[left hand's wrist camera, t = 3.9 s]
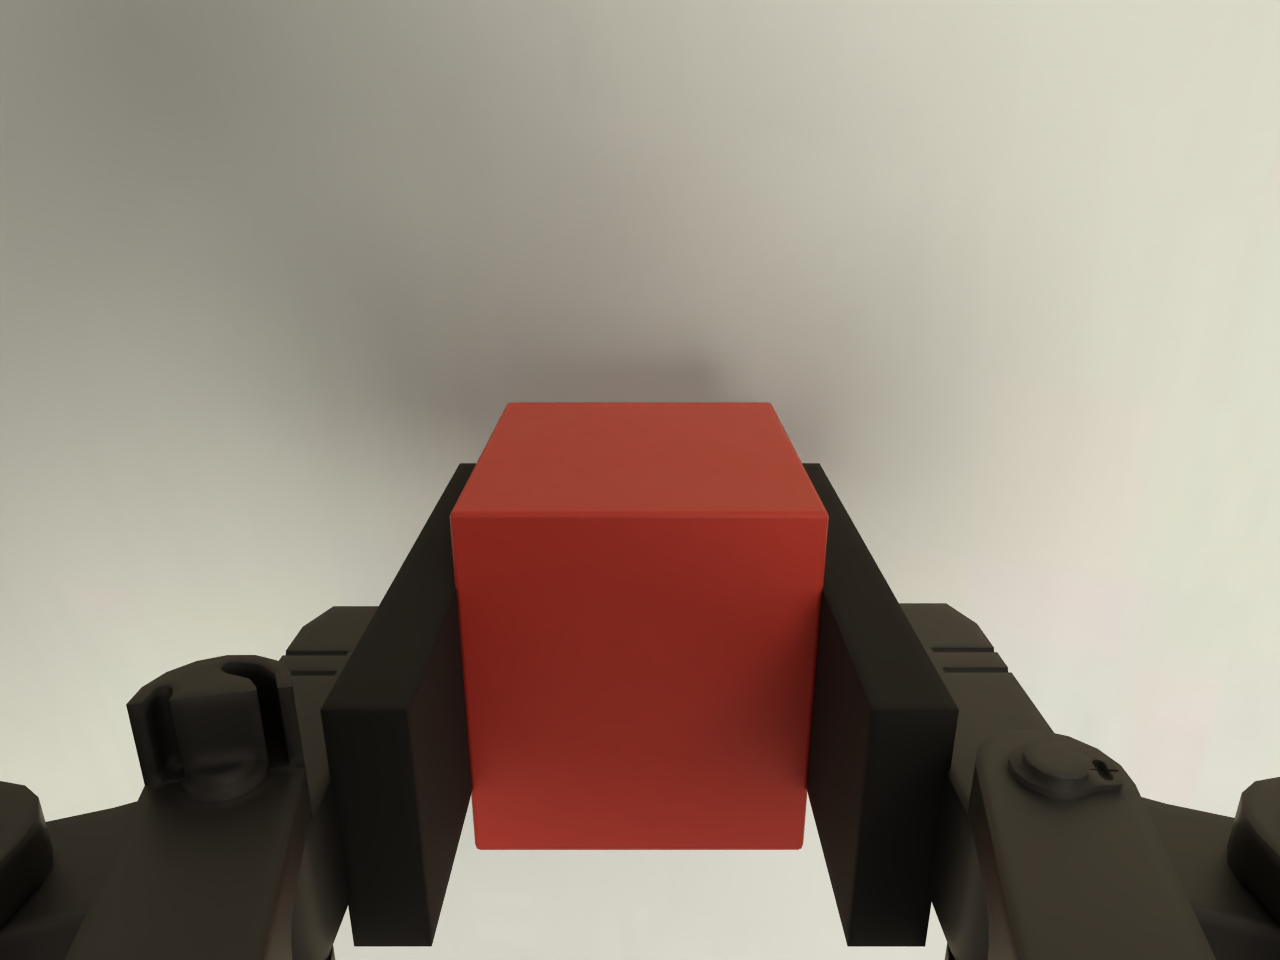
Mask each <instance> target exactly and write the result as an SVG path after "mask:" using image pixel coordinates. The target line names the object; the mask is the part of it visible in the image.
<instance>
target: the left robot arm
mask: <svg viewBox="0 0 1280 960" xmlns="http://www.w3.org/2000/svg"><path fill="white" fill-rule="evenodd" d="M476 464H477V463H460V464H459V466H458V468H457V470H456V471H455V473H454V475H453V477H452V478H451V480H450V482H449V484H448V485H447V487H446V489H445V491H444V493H443V494H442V496H441V498H440V500H439V501H438V503H437V505H436V507H435V508H434V510H433V512H432V514H431V515H430V517H429V519H428V521H427V522H426V524H425V526H424V528H423V530H422V531H421V533H420V535H419V537H418V538H417V540H416V542H415V544H414V545H413V547H412V549H411V551H410V552H409V554H408V556H407V558H406V559H405V561H404V563H403V565H402V567H401V568H400V570H399V572H398V574H397V575H396V577H395V579H394V581H393V582H392V584H391V586H390V588H389V589H388V591H387V593H386V595H385V596H384V598H383V600H382V602H381V604H380V605H379V606H333V607H332V608H330V609H329V610H327V611H326V612H324V613H323V614H321V615H320V616H318V617H317V618H315V619H314V620H312V621H311V622H309V623H308V624H306V625H305V626H303V627H302V629H301V630H300V632H299V633H298V634H297V636H296V637H295V639H294V640H293V642H292V643H291V644H290V646H289V647H288V649H287V650H286V656H282V657H281V659H280V660H279V661H277V660H273V659H269V658H265V657H261V656H257V655H226V656H221V657H216V658H210V659H205V660H200V661H196V662H193V663H190V664H187V665H185V666H182V667H179V668H177V669H174V670H171V671H169V672H166V673H165V674H163V675H161V676H160V677H158V678H156V679H155V680H153V681H151V682H150V683H148V684H147V685H145V686H143V687H142V688H141V689H140V690H139V691H138V692H137V693H136V694H135V695H134V697H133V698H132V699H131V700H130V701H129V702H128V703H127V704H126V706H127V710H128V714H129V719H130V723H131V727H132V732H133V736H134V740H135V745H136V749H137V753H138V758H139V762H140V766H141V771H142V775H143V779H144V783H145V787H144V789H143V791H142V793H141V795H140V797H139V800H138V801H137V802H133V803H130V804H126V805H122V806H119V807H115V808H111V809H106V810H101V811H96V812H92V813H87V814H82V815H77V816H73V817H68V818H63V819H58V820H53V821H49V822H45V819H44V816H43V812H42V808H41V805H40V801H39V798H38V797H37V796H36V795H35V794H34V793H33V792H32V791H31V790H29V789H28V788H27V787H26V786H24V785H19V784H13V783H8V782H2V781H0V960H335V955H334V948H333V943H334V940H335V938H336V935H337V932H338V930H339V927H340V925H341V922H342V919H343V917H344V914H345V912H346V909H347V906H349V913H350V920H351V927H352V934H353V941H354V946H432V943H433V939H434V935H435V931H436V927H437V924H438V920H439V916H440V912H441V908H442V904H443V901H444V897H445V893H446V889H447V885H448V881H449V877H450V874H451V870H452V866H453V862H454V858H455V854H456V850H457V847H458V843H459V839H460V835H461V831H462V827H463V824H464V820H465V816H466V812H467V808H468V804H469V800H470V797H471V793H472V781H471V768H470V756H469V743H468V730H467V717H466V704H465V692H464V679H463V666H462V653H461V640H460V627H459V615H458V602H457V589H456V588H455V578H454V565H453V553H452V540H451V527H450V514H451V512H452V510H453V508H454V506H455V504H456V502H457V500H458V498H459V496H460V494H461V493H462V491H463V489H464V487H465V485H466V483H467V481H468V479H469V477H470V475H471V473H472V471H473V469H474V468H475V466H476ZM802 465H803V467H804V469H805V471H806V473H807V474H808V476H809V478H810V480H811V482H812V484H813V486H814V488H815V490H816V492H817V494H818V496H819V498H820V500H821V502H822V503H823V505H824V507H825V509H826V511H827V513H828V516H829V518H828V531H827V544H826V557H825V570H824V583H823V588H822V601H821V613H820V626H819V639H818V652H817V665H816V678H815V691H814V704H813V716H812V729H811V742H810V755H809V768H808V781H807V791H808V795H809V799H810V803H811V807H812V811H813V815H814V818H815V822H816V826H817V830H818V834H819V838H820V842H821V845H822V849H823V853H824V857H825V861H826V865H827V868H828V872H829V876H830V880H831V884H832V888H833V892H834V895H835V899H836V903H837V907H838V911H839V915H840V919H841V922H842V926H843V930H844V934H845V938H846V942H847V945H848V946H925V943H926V936H927V929H928V922H929V915H930V908H931V901H932V904H933V906H934V909H935V911H936V914H937V916H938V919H939V922H940V924H941V927H942V929H943V932H944V935H945V937H946V940H947V948H946V955H945V960H1280V777H1277V778H1271V779H1266V780H1260V781H1255V782H1254V783H1253V784H1252V785H1251V786H1249V787H1248V788H1247V789H1246V790H1245V791H1244V792H1243V793H1242V795H1241V798H1240V802H1239V805H1238V809H1237V812H1236V816H1235V818H1232V817H1227V816H1222V815H1217V814H1212V813H1207V812H1203V811H1198V810H1193V809H1188V808H1183V807H1179V806H1174V805H1169V804H1165V803H1161V802H1157V801H1154V800H1150V799H1146V798H1143V797H1141V796H1140V794H1139V791H1138V789H1137V787H1136V785H1135V783H1134V782H1133V781H1132V780H1131V778H1130V777H1129V776H1128V774H1127V773H1126V772H1125V770H1124V769H1123V768H1122V766H1121V765H1119V764H1118V763H1117V762H1115V761H1114V760H1112V759H1111V758H1110V757H1108V756H1107V755H1105V754H1104V753H1103V752H1101V751H1100V750H1098V749H1097V748H1094V747H1092V746H1090V745H1087V744H1085V743H1083V742H1080V741H1078V740H1076V739H1073V738H1071V737H1069V736H1064V735H1060V734H1055V733H1054V732H1053V731H1052V729H1051V728H1050V726H1049V725H1048V724H1047V722H1046V721H1045V719H1044V718H1043V717H1042V715H1041V714H1040V712H1039V711H1038V709H1037V708H1036V707H1035V705H1034V704H1033V702H1032V701H1031V700H1030V698H1029V697H1028V695H1027V694H1026V692H1025V691H1024V690H1023V688H1022V687H1021V685H1020V684H1019V683H1018V681H1017V680H1016V678H1015V677H1014V676H1013V674H1012V673H1008V667H1007V666H1006V664H1005V663H1004V661H1003V660H1002V659H1001V657H1000V656H999V654H998V653H997V652H994V647H993V646H992V644H991V643H990V642H989V640H988V639H987V637H986V636H985V635H984V633H983V632H982V630H981V629H980V627H979V626H978V625H977V624H976V623H975V622H973V621H972V620H970V619H969V618H967V617H966V616H964V615H963V614H961V613H960V612H958V611H957V610H955V609H954V608H952V607H951V606H949V605H948V604H933V603H932V604H931V603H898V601H897V599H896V598H895V596H894V594H893V592H892V591H891V589H890V587H889V585H888V584H887V582H886V580H885V578H884V577H883V575H882V573H881V571H880V570H879V568H878V566H877V564H876V562H875V561H874V559H873V557H872V555H871V554H870V552H869V550H868V548H867V547H866V545H865V543H864V541H863V540H862V538H861V536H860V534H859V533H858V531H857V529H856V527H855V525H854V524H853V522H852V520H851V518H850V517H849V515H848V513H847V511H846V510H845V508H844V506H843V504H842V503H841V501H840V499H839V497H838V496H837V494H836V492H835V490H834V488H833V487H832V485H831V483H830V481H829V480H828V478H827V476H826V474H825V473H824V471H823V469H822V467H821V466H820V464H819V463H802Z"/></svg>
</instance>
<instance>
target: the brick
mask: <svg viewBox="0 0 1280 960" xmlns="http://www.w3.org/2000/svg"><path fill="white" fill-rule="evenodd" d="M828 518H829V516H828V513H827V511H826V509H825V507H824V505H823V503H822V502H821V500H820V498H819V496H818V494H817V492H816V490H815V488H814V486H813V484H812V482H811V480H810V478H809V476H808V474H807V473H806V471H805V469H804V467H803V465H802V463H801V461H800V459H799V457H798V455H797V453H796V451H795V449H794V447H793V445H792V443H791V442H790V440H789V438H788V436H787V434H786V432H785V430H784V428H783V426H782V424H781V422H780V420H779V418H778V416H777V414H776V413H775V411H774V409H773V407H772V405H771V404H770V403H508V404H507V406H506V408H505V410H504V412H503V414H502V416H501V417H500V419H499V421H498V423H497V425H496V427H495V429H494V431H493V433H492V435H491V437H490V439H489V441H488V442H487V444H486V446H485V448H484V450H483V452H482V454H481V456H480V458H479V460H478V462H477V464H476V466H475V468H474V469H473V471H472V473H471V475H470V477H469V479H468V481H467V483H466V485H465V487H464V489H463V491H462V493H461V494H460V496H459V498H458V500H457V502H456V504H455V506H454V508H453V510H452V512H451V514H450V527H451V540H452V553H453V565H454V578H455V588H456V589H457V602H458V615H459V627H460V640H461V653H462V666H463V679H464V692H465V704H466V717H467V730H468V743H469V756H470V768H471V781H472V793H471V795H472V808H473V821H474V834H475V844H476V847H477V849H480V850H798V849H801V848H802V845H803V839H804V826H805V813H806V800H807V781H808V768H809V755H810V742H811V729H812V716H813V704H814V691H815V678H816V665H817V652H818V639H819V626H820V613H821V601H822V588H823V583H824V570H825V557H826V544H827V531H828Z"/></svg>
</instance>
